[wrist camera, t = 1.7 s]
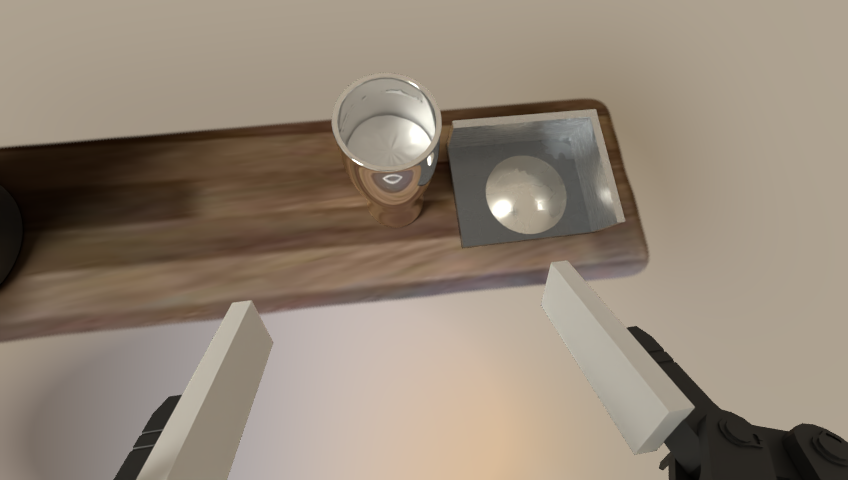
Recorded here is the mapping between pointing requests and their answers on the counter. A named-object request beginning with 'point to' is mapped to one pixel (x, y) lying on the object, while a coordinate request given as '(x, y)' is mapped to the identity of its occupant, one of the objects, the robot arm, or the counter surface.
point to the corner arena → (531, 177)
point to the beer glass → (388, 143)
